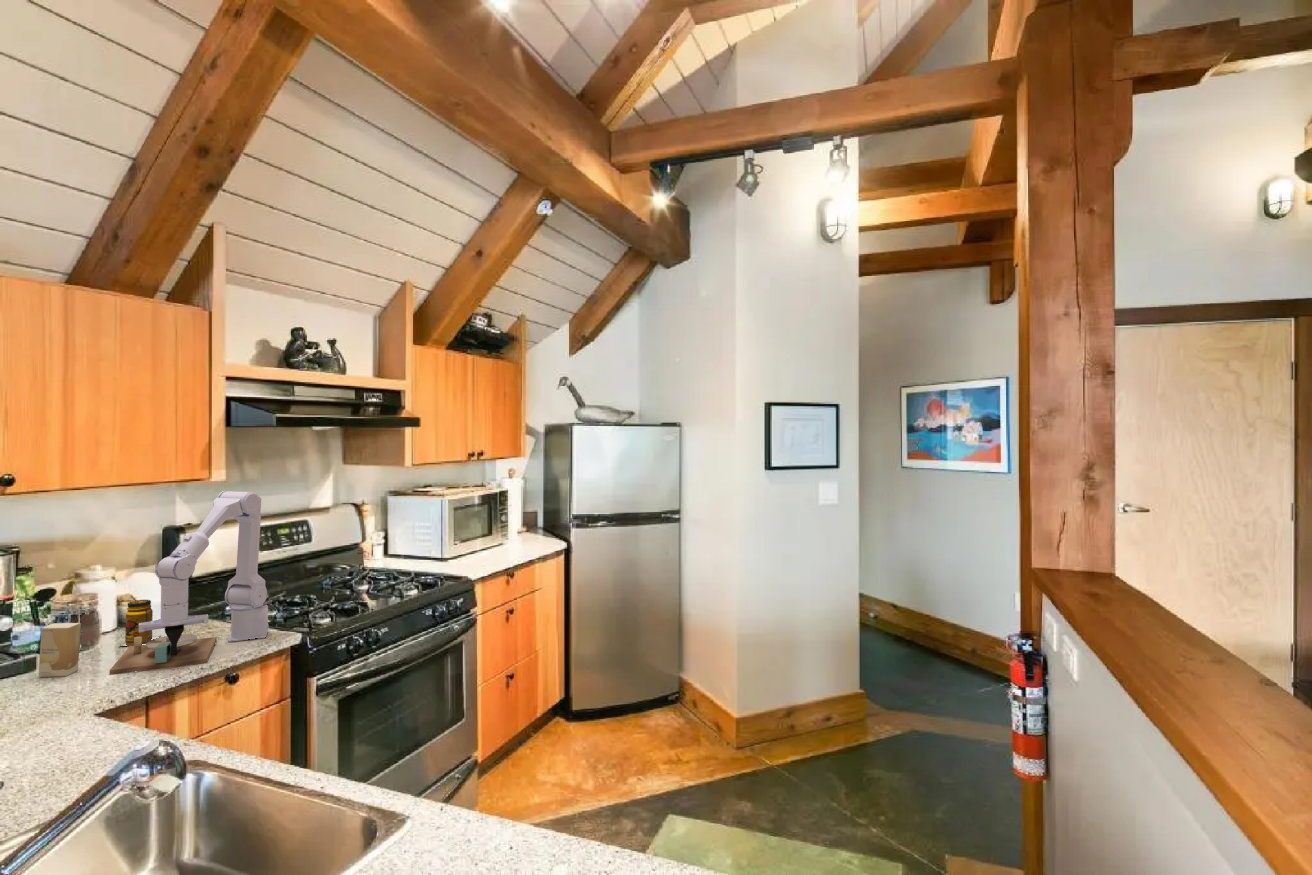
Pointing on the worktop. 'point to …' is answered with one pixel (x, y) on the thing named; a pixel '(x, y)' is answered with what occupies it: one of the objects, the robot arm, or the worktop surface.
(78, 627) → the skincare box
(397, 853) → the worktop surface
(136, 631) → the condiment
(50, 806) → the worktop surface
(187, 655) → the walnut base
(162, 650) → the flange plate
